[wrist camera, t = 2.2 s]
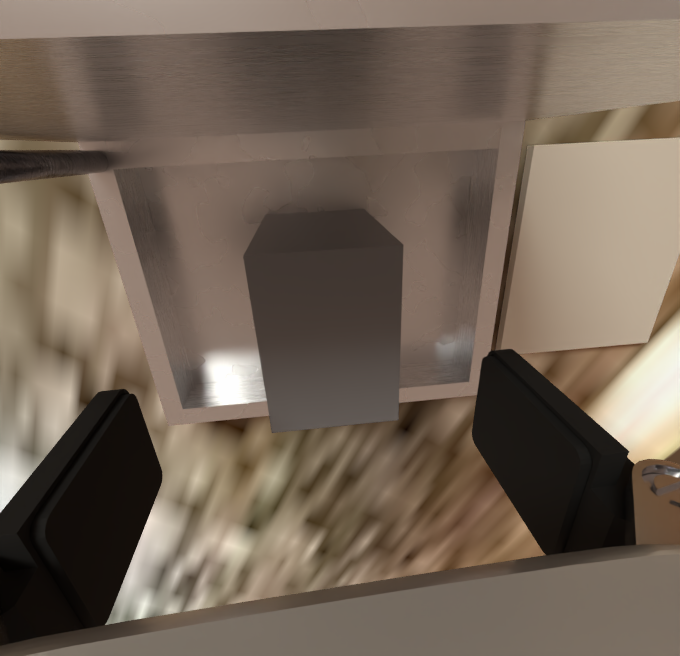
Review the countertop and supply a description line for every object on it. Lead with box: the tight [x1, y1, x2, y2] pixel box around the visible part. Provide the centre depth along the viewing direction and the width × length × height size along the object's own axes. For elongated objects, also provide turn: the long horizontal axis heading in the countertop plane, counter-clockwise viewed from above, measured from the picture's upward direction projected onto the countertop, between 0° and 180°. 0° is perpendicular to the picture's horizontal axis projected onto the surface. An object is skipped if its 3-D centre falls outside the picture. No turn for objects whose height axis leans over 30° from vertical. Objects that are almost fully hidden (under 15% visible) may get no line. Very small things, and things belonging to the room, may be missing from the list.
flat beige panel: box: [495, 138, 680, 354], centre depth 21 cm, size 10×12×1 cm
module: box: [243, 209, 403, 433], centre depth 17 cm, size 5×7×8 cm
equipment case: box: [0, 0, 680, 426], centre depth 13 cm, size 18×14×17 cm
